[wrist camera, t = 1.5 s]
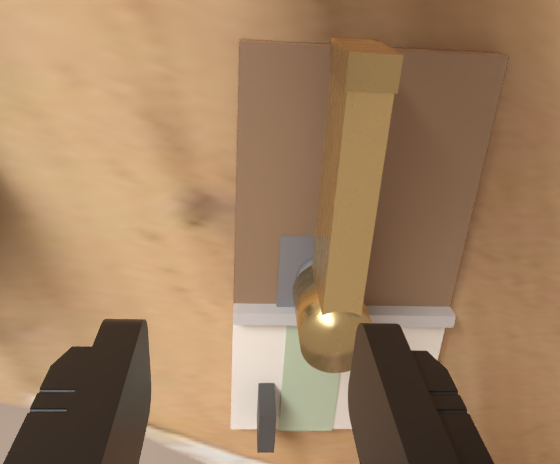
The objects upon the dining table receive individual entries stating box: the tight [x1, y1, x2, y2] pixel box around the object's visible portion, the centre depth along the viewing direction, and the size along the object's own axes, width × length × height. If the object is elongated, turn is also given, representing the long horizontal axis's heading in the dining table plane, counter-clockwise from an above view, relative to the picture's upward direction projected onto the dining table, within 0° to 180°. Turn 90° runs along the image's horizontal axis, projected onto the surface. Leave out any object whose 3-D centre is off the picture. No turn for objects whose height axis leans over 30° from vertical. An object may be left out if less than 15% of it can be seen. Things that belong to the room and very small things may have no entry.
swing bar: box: [293, 37, 404, 373], centre depth 25 cm, size 15×4×5 cm, turn 177°
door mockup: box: [231, 39, 509, 453], centre depth 30 cm, size 24×13×4 cm, turn 177°
